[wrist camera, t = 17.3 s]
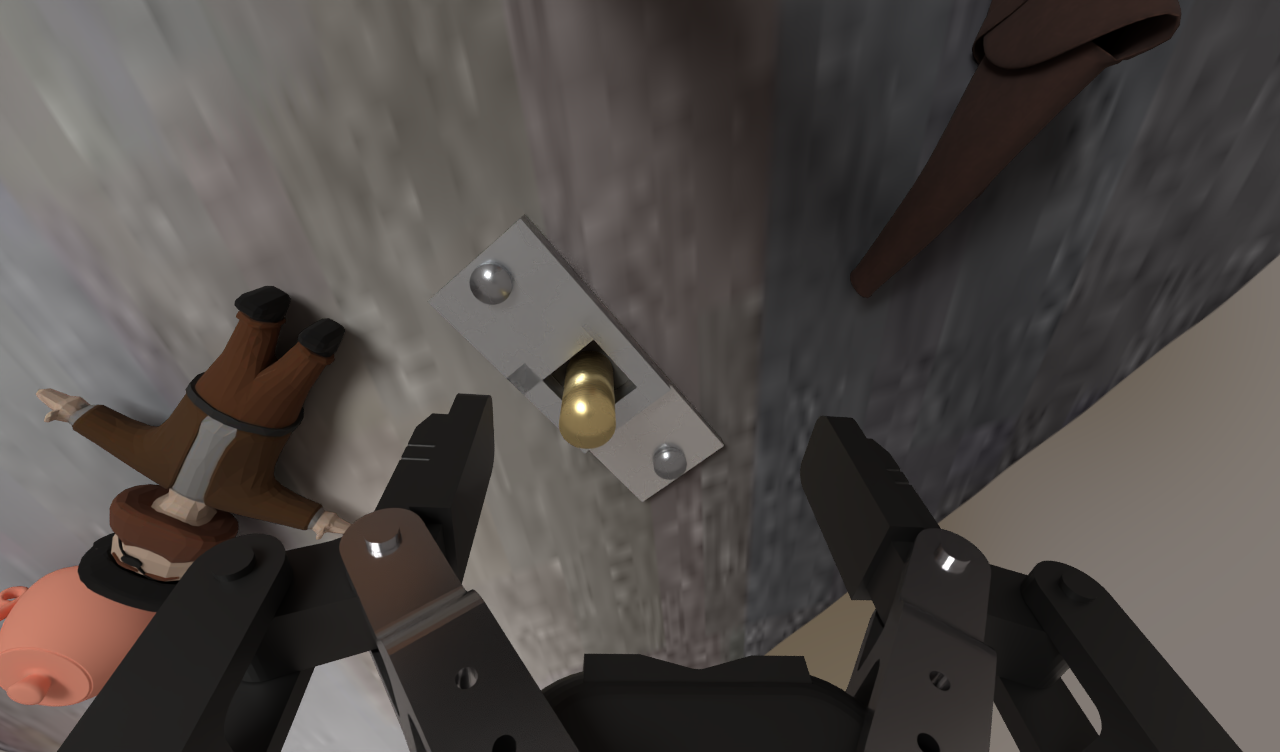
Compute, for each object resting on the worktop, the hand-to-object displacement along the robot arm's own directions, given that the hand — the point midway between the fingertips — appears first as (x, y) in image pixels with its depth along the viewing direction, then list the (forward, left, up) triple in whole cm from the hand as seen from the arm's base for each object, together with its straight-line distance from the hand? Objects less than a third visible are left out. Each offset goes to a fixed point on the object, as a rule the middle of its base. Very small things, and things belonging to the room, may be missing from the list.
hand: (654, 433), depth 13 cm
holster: (+8, +25, -31) cm, 41 cm away
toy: (-7, -36, -31) cm, 48 cm away
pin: (+8, -9, -30) cm, 33 cm away
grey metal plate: (+8, -9, -30) cm, 33 cm away
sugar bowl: (-4, -60, -31) cm, 68 cm away
